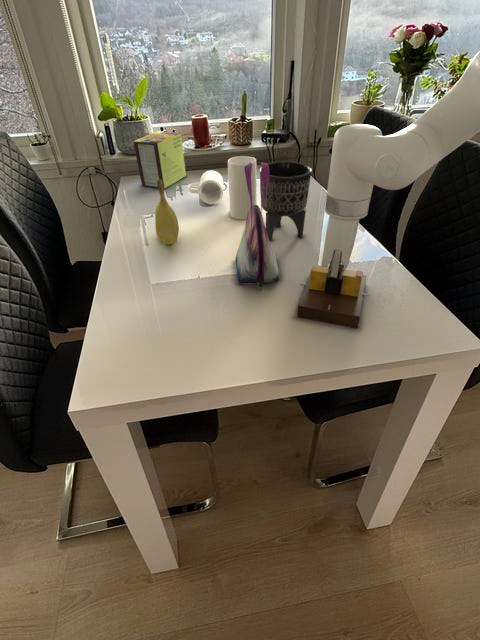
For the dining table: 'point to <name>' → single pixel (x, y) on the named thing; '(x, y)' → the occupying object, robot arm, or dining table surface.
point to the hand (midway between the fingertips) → (333, 288)
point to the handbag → (256, 241)
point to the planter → (286, 194)
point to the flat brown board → (331, 306)
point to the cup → (241, 186)
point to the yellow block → (348, 285)
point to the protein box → (160, 158)
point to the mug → (209, 187)
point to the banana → (165, 219)
